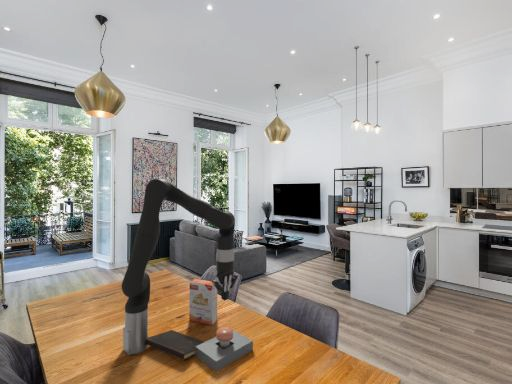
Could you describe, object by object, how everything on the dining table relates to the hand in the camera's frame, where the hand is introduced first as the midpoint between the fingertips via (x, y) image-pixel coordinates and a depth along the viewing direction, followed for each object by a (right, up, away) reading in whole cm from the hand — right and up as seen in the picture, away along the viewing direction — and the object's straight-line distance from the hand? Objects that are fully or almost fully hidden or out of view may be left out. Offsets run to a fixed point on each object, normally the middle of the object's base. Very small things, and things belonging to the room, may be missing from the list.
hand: (225, 299), depth 116 cm
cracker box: (-15, -23, +28) cm, 39 cm away
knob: (0, -21, 0) cm, 20 cm away
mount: (0, -23, 0) cm, 23 cm away
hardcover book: (-22, -22, +4) cm, 32 cm away
